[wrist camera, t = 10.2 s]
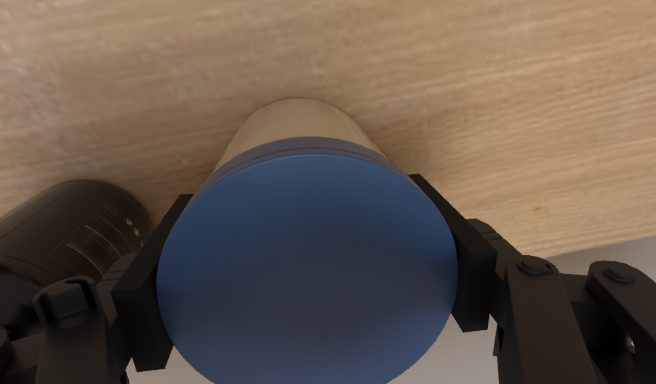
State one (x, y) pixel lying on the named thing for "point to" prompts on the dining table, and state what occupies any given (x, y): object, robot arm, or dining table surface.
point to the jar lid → (307, 268)
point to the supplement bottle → (62, 245)
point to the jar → (294, 126)
